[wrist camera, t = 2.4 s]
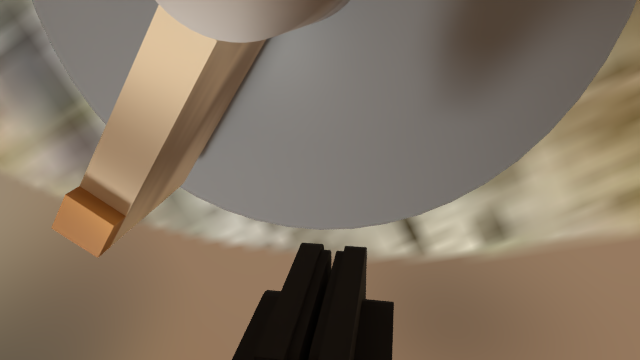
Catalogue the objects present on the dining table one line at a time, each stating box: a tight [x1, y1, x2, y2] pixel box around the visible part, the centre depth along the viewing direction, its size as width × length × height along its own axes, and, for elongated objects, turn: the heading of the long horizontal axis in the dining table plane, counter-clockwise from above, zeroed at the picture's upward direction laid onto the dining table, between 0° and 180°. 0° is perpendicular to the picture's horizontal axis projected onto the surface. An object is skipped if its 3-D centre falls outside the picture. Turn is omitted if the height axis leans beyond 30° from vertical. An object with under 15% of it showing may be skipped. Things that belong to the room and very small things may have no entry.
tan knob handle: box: [52, 0, 350, 257], centre depth 13 cm, size 12×5×6 cm, turn 146°
